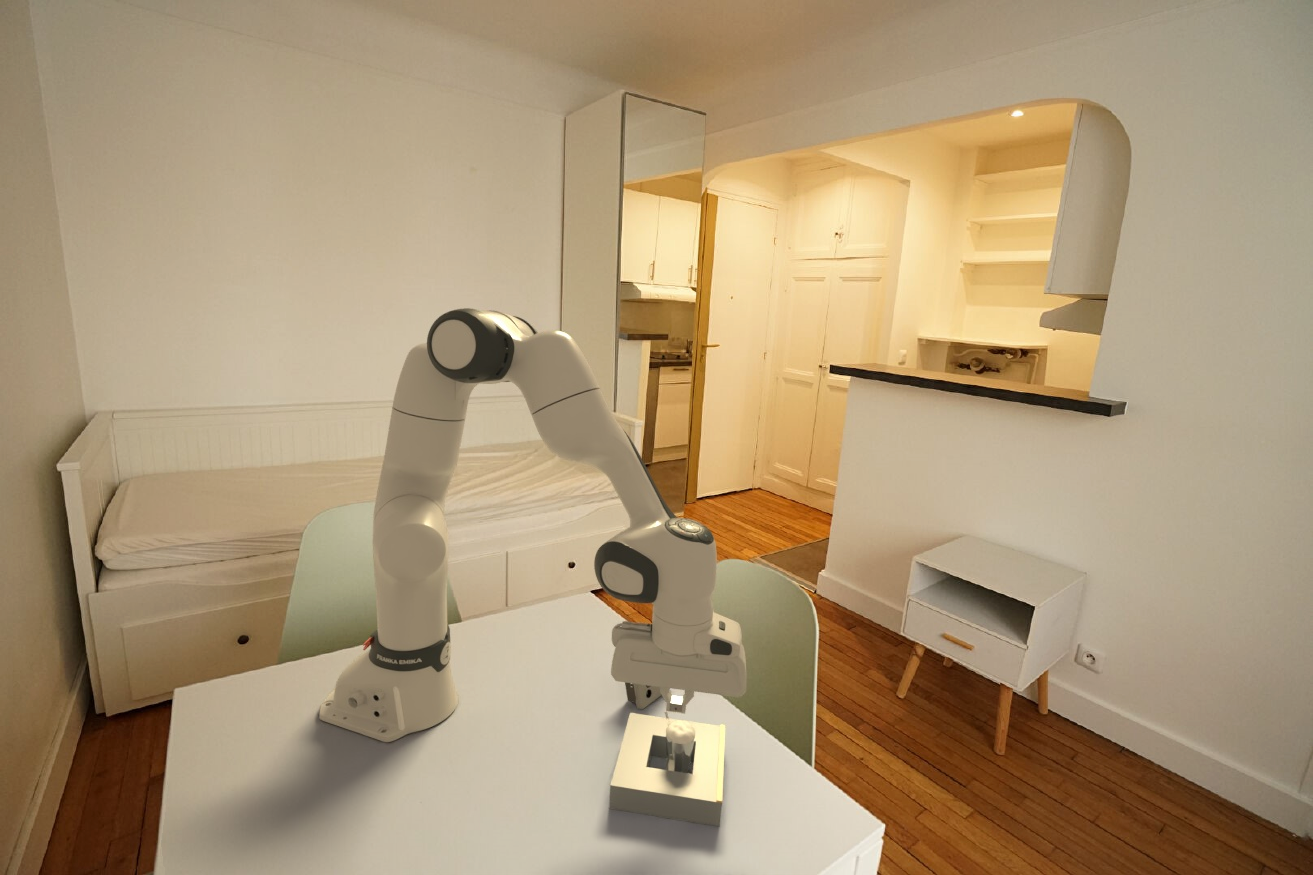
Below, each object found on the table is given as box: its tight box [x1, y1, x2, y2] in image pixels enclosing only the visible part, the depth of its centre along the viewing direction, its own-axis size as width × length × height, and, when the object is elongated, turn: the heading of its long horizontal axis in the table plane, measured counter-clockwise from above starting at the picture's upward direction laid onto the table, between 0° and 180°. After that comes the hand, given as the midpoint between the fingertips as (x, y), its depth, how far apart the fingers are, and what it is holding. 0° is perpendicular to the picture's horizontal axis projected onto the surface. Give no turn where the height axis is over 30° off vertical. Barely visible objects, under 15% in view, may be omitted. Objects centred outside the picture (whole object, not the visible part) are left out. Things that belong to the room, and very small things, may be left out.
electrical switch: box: [624, 682, 662, 710], centre depth 114 cm, size 9×5×9 cm, turn 141°
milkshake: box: [664, 710, 695, 774], centre depth 95 cm, size 4×5×10 cm
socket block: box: [608, 712, 726, 828], centre depth 95 cm, size 16×16×4 cm
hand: (676, 710), depth 93 cm, fingers closed
